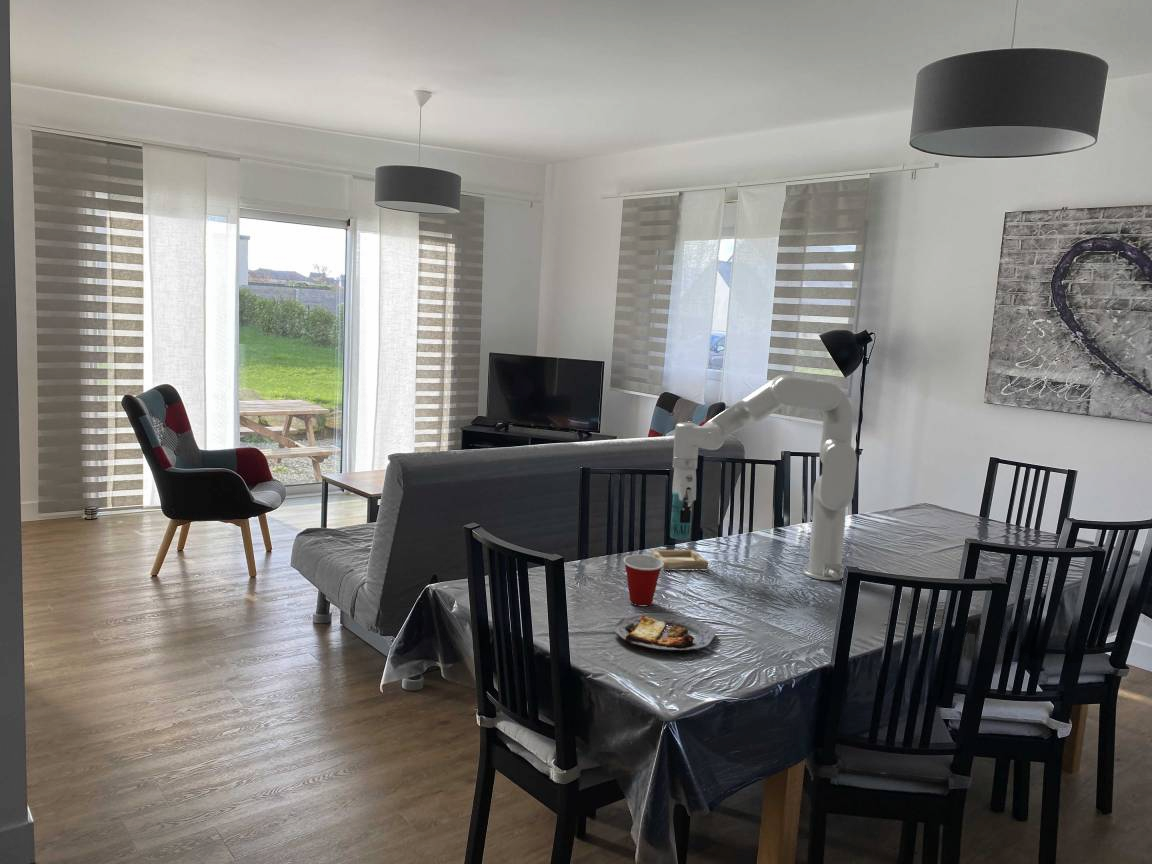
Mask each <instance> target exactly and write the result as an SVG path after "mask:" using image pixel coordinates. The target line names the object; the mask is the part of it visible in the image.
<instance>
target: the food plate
mask: <svg viewBox="0 0 1152 864" xmlns="http://www.w3.org/2000/svg"><path fill="white" fill-rule="evenodd" d="M666 625H668V626H666ZM670 626H672V627H670ZM666 627H669V629H667V628H666ZM664 629H666V630H668V633H667V632H666V630H665V631H664ZM689 631H690V632H689ZM662 632H663V633H662ZM664 632H666V634H664ZM688 632H689V633H692V632H693V633H692V635H691V634H689V633H688ZM613 633H614V634H615V635H616V636H617V637H618V638H620V639H621V640H623V641H624V642H627V643H628V644H631V645H636V646H640V647H644V648H649V649H652V650H655V651H658V650H659V651H667V652H670V651H671V652H672V651H673V652H674V651H682V652H688V651H693V652H695V651H698V650H699V649H705V648H707V647H708V646H709V645H710V644H711V642H712V641H713V639H715V636H716V634H718V632H717V629H715V628H713V627H712V626H710V625H708V624H706V623H705V622H704V621H700V620H698V619H696V618H692V617H690V616H688V617H687V616H685V615H678V614H671V613H656V612H655V613H653V612H652V613H649V612H648V613H637V614H633V615H630V616H624V617H623V618H621V620H620V621H619V622H618V623H617V624H616V625H615V626H614V627H613Z"/></svg>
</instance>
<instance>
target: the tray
mask: <svg viewBox="0 0 1152 864" xmlns="http://www.w3.org/2000/svg"><path fill="white" fill-rule="evenodd" d="M650 551H651V553H650V554H651V555H652V556H653V557H656V558H659V559H660V560H662V561H663V563H664V565H663V568H664V569H708V568H709V562H708V561H707V560H706V559H705V558H704V557H703V556H702V555H700V554H699V553H698V552H697V551H695V550H694V549H652V550H650ZM651 555H650V556H651ZM708 570H709V569H708Z"/></svg>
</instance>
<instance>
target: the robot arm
mask: <svg viewBox="0 0 1152 864" xmlns="http://www.w3.org/2000/svg"><path fill="white" fill-rule="evenodd" d="M784 406H789V407H793V408H794V407H795V408H800V409H808V410H816V411H820V412H821V413H822V434H821V440H820V441H821V442H820V450H819V459H820V462H821V463H822V467H821V468H822V469H821V474H820V476H819V477H817V478H816V480H815V482H814V485H813V495H812V497H813V500H812V501H813V507H812V521H811V530H810V541H809V544H810V546H809V554H808V555H809V557H808V565H807V566H804V567H803V568H802V573H803V574H804V575H805V576H807V577H808V578H812V579H814V580H815V579H816V580H820V581H821V580H822V581H842V580H843V579H842V578H843V570H842V556H843V547H844V546H843V545H844V536H845V535H844V534H845V525H846V508H848V507H849V505H850V504H851V502H852V500H853V498H854V492H855V483H856V473H857V467H858V466H857V462H858V460H857V453H856V451H855V449H854V448H853V446H852V437H853V424H854V423H853V422H854V420H853V419H854V418H853V417H854V416H853V415H854V414H853V409H852V405H851V403H850V400H849V399H848V397H847V395H846V394H845V393H844V391H843V390H842V389H841V388H840V387H839V386H838V385H836V383H833V382H832V381H830V380H827V379H823V378H822V379H817V380H814V379H806V378H799V377H796V376H795V377H794V376H792V375H790V374H785V373H784V374H779V375H777V376H775V377H774V378H772V379H770V381H768V382H767V383H765V384H763V385H762V386H761V387H759V388H757V389H756V390H754V391H753V392H751V393H750V394H748V395H746V397H744V398H743V399H740V400H739V401H738V402H736V403H734V404H733V405H731V406H729V407H728V408H726V409H725V410H723V411H722V412H720V413H719V414H717V415H715V416H714V417H713V418H711V419H710V420H708V421H707V422H705V423H704V424H703V425H699V424H697V423H693V422H678V423H677V424H675V427H674V437H673V450H672V451H673V454H672V468H674V469H673V478H672V489H671V491H672V494H673V492H674V491H675V490H676V491H677V493H678V497H679V500H680V501H681V506H682V510H680V523H690V518H691V517H692V516H691V506H692V507H693V502H695V501H696V500H697V469H698V461H699V460H698V458H699V457H698V456H699V449H704V450H710V451H716V450H718V449H720V448H721V447H722V446H723V445H724V443H725V440H726V438H729V436H731V435H733V434H734V433H735V432H737V431H739V430H741V429H743V428H745V427H747V426H753V425H756V424H758V423H760V422H761V421H762V420H765V419H766V418H767V417H769V416H770V415H772V414H773V413H775V412H776V411H778V410H779V409H781V408H782V407H784ZM683 498H687V500H684V499H683ZM684 502H687V503H685V505H684ZM691 519H692V518H691ZM840 579H841V580H840Z"/></svg>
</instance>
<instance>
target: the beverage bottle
mask: <svg viewBox="0 0 1152 864" xmlns="http://www.w3.org/2000/svg"><path fill="white" fill-rule="evenodd" d="M683 499H684V500H687V498H683ZM685 503H687V502H684V505H685ZM692 509H693V505H692V506H691V518H690V523H680V510H682V506H681V501H680V500H679V497H678V493H677V491H676V490H675V491H674V492H673V493H672V502H671V514H670V515H671V517H670V521H669V522H670V523H669V524H670V525H669V526H670V527H669V536H670V538H671V539H674V540H682V541H683V540H689V539H690V538H691V534H692V533H691V529H692V519H693V515H692V513H693V511H692Z"/></svg>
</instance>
